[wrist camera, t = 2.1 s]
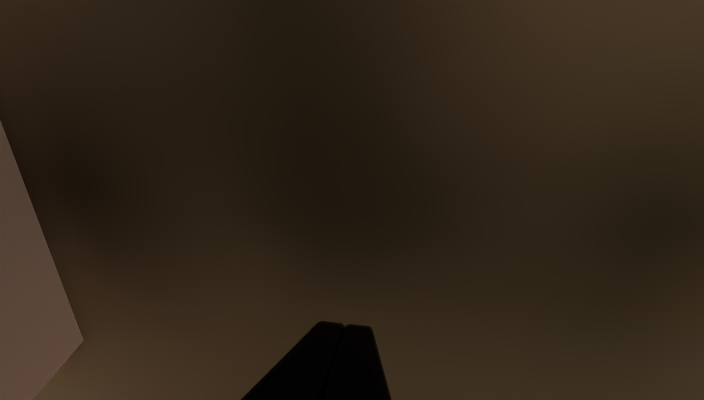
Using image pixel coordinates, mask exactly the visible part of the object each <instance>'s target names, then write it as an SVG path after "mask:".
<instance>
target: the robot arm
mask: <svg viewBox="0 0 704 400" xmlns="http://www.w3.org/2000/svg"><path fill="white" fill-rule="evenodd" d="M241 400H391V396H390V393H389V389H388V385H387V382H386V378H385V374H384V370H383V367H382V363H381V359H380V356H379V352H378V348H377V344H376V341H375V337H374V333H373V330H372V328H371V327H370V326H363V325H354V324H348V325H347V326H346V327H345V326H344V325H343V324H342V323H335V322H325V321H321V322H318V323H317V324H316V325H315V326H314V327H313V328H312V329H311V330H310V331H309V332H308V333H307V334H306V335H305V336H304V337H303V338H302V339H301V340H300V341H299V342H298V343H297V344H296V345H295V346H294V347H293V348H292V349H291V350H290V351H289V352H288V353H287V354H286V355H285V356H284V357H283V358H282V359H281V360H280V361H279V362H278V363H277V364H276V365H275V366H274V367H273V368H272V369H271V370H270V371H269V372H268V373H267V374H266V375H265V376H264V377H263V378H262V379H261V380H260V381H259V382H258V383H257V384H256V385H255V386H254V387H253V388H252V389H251V390H250V391H249V392H248V393H247V394H246V395H245V396H244V397H243V398H242V399H241Z"/></svg>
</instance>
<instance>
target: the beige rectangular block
mask: <svg viewBox="0 0 704 400" xmlns="http://www.w3.org/2000/svg"><path fill="white" fill-rule="evenodd" d="M83 341H84V340H83V338H82V335H81V332H80V330H79V327H78V324H77V322H76V319H75V316H74V314H73V311H72V308H71V306H70V303H69V301H68V298H67V295H66V293H65V290H64V287H63V285H62V282H61V279H60V277H59V274H58V271H57V269H56V266H55V263H54V261H53V258H52V256H51V253H50V250H49V248H48V245H47V242H46V240H45V237H44V234H43V232H42V229H41V226H40V224H39V221H38V219H37V216H36V213H35V211H34V208H33V205H32V203H31V200H30V197H29V195H28V192H27V189H26V187H25V184H24V181H23V179H22V176H21V174H20V171H19V168H18V166H17V163H16V160H15V158H14V155H13V152H12V150H11V147H10V144H9V142H8V139H7V137H6V134H5V131H4V129H3V126H2V123H1V121H0V400H34V398H35V397H36V396H37V395H38V394H39V393H40V391H41V390H42V389H43V388H44V387H45V385H46V384H47V383H48V382H49V381H50V380H51V378H52V377H53V376H54V375H55V374H56V373H57V371H58V370H59V369H60V368H61V367H62V365H63V364H64V363H65V362H66V361H67V360H68V358H69V357H70V356H71V355H72V354H73V352H74V351H75V350H76V349H77V348H78V347H79V345H80V344H81V343H82V342H83Z"/></svg>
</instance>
